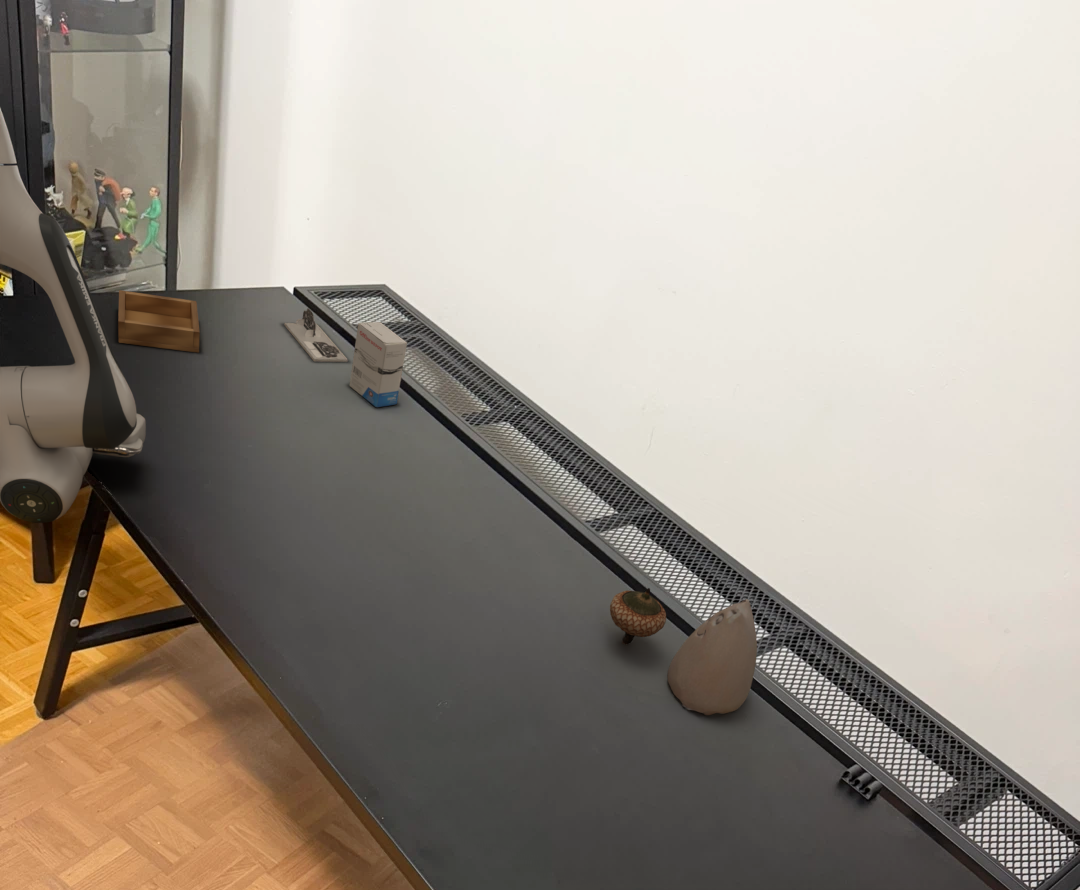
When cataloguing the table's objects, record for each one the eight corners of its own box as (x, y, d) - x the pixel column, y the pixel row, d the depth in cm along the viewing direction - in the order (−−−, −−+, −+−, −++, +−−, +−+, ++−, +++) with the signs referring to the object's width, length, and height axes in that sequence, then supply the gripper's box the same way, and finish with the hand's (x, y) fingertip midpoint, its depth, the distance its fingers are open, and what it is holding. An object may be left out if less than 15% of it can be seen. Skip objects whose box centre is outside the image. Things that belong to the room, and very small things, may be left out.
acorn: (610, 663, 142) (633, 606, 135) (589, 626, 147) (610, 569, 141) (661, 662, 145) (685, 606, 139) (639, 625, 150) (661, 570, 144)
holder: (118, 342, 173) (118, 321, 171) (119, 311, 182) (119, 289, 179) (198, 352, 178) (199, 331, 176) (195, 321, 187) (196, 301, 184)
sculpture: (662, 652, 147) (698, 567, 137) (738, 670, 149) (780, 587, 139) (668, 710, 137) (708, 623, 127) (750, 728, 139) (795, 643, 129)
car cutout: (284, 325, 195) (286, 301, 192) (316, 325, 199) (319, 303, 196) (314, 361, 187) (316, 337, 184) (347, 361, 191) (350, 338, 188)
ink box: (398, 405, 183) (409, 342, 175) (375, 408, 180) (385, 344, 172) (370, 382, 187) (380, 320, 179) (347, 385, 183) (356, 321, 176)
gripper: (139, 434, 136) (153, 391, 147) (-29, 409, 131) (-3, 366, 141) (140, 476, 140) (153, 431, 151) (-24, 454, 135) (1, 409, 145)
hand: (76, 399), depth 146 cm, fingers open, 8 cm apart
